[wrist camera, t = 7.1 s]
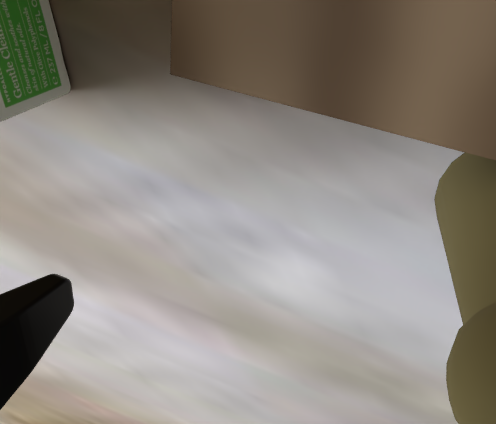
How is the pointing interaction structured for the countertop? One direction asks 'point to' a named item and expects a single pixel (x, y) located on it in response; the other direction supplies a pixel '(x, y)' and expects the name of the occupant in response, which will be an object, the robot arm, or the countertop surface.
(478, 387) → the olive pestle
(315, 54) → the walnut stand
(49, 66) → the skincare box
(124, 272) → the countertop surface
